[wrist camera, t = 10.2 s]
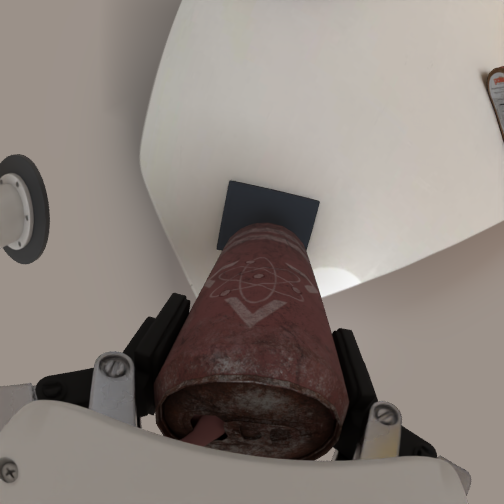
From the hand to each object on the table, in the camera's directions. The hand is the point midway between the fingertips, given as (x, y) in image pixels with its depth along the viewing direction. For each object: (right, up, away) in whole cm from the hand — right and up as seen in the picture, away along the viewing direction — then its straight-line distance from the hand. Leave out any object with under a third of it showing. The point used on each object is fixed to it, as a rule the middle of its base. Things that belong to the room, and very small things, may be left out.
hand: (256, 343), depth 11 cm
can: (+1, +3, +9) cm, 9 cm away
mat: (+2, +7, +19) cm, 21 cm away
